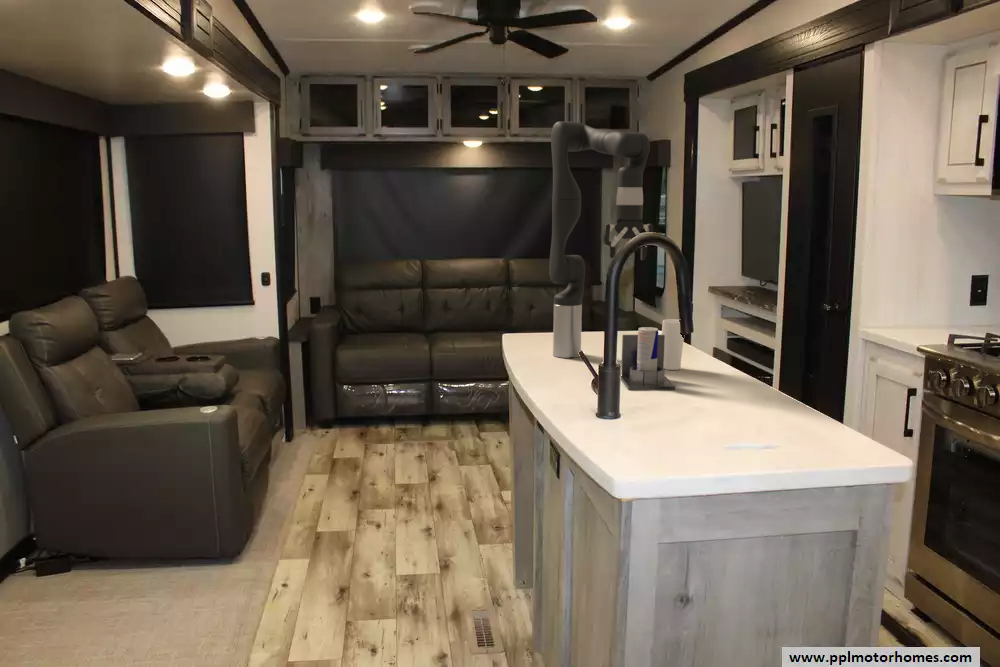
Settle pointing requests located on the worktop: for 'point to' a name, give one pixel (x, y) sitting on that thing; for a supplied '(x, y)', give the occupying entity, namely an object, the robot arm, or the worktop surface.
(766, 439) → the worktop surface
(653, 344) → the beverage can
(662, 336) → the cup bracket
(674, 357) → the white tapered cylinder
